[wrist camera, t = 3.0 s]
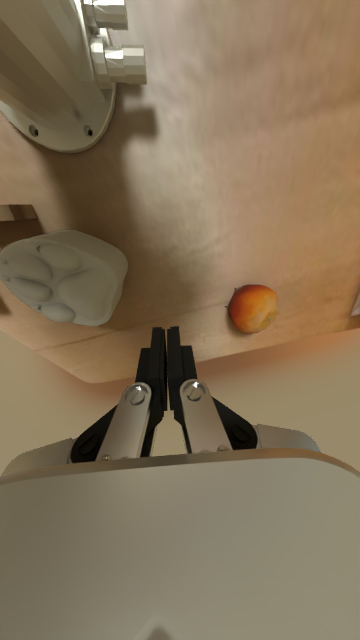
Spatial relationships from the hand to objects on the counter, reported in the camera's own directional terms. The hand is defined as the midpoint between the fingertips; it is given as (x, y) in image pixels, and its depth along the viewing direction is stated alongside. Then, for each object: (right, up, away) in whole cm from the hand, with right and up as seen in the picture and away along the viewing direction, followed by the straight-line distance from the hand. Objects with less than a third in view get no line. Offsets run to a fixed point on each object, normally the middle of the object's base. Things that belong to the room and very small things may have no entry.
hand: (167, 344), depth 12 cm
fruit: (+13, +5, +20) cm, 25 cm away
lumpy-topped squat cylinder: (-14, +10, +15) cm, 23 cm away
